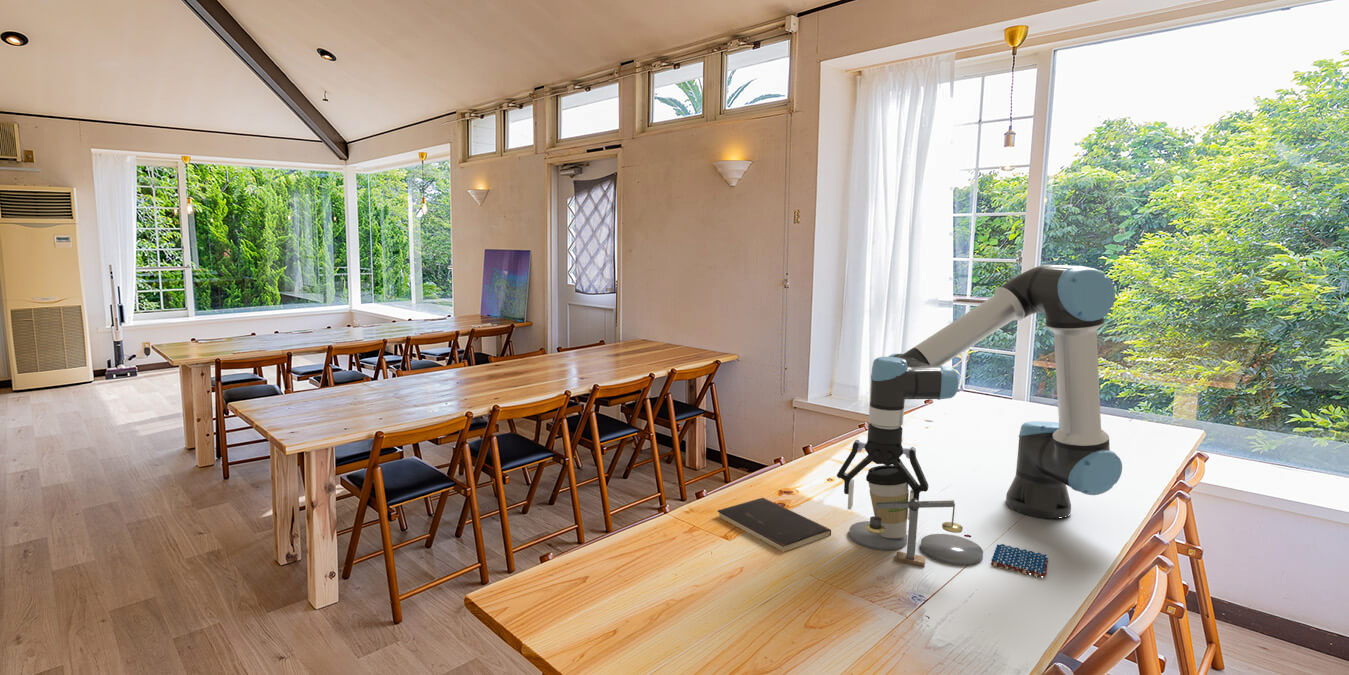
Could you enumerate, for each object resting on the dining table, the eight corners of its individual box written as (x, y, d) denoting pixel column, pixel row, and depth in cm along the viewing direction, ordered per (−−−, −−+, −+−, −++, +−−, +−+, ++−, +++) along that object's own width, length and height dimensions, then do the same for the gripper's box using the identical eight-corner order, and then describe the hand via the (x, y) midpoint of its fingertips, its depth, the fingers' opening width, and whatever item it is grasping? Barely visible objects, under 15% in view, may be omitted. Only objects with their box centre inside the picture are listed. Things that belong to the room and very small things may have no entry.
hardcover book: (782, 555, 150) (782, 545, 149) (717, 519, 168) (717, 510, 168) (831, 537, 159) (831, 528, 159) (764, 505, 177) (764, 496, 177)
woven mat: (1045, 582, 140) (1046, 573, 139) (989, 568, 145) (990, 559, 145) (1049, 562, 149) (1050, 553, 148) (996, 549, 154) (997, 541, 154)
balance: (959, 566, 145) (964, 499, 142) (958, 575, 141) (964, 506, 139) (865, 548, 152) (869, 484, 150) (862, 555, 149) (867, 490, 147)
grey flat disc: (982, 545, 155) (982, 540, 155) (982, 570, 143) (983, 565, 143) (922, 534, 160) (923, 529, 160) (918, 557, 148) (918, 552, 148)
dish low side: (909, 532, 161) (909, 527, 161) (904, 554, 150) (904, 549, 149) (854, 521, 167) (854, 517, 166) (845, 543, 155) (845, 538, 155)
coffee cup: (917, 541, 151) (912, 476, 150) (872, 541, 153) (866, 478, 152) (911, 524, 161) (906, 463, 159) (869, 525, 163) (864, 465, 161)
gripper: (944, 427, 152) (937, 516, 156) (833, 414, 162) (829, 497, 166) (943, 436, 146) (935, 528, 149) (827, 421, 156) (823, 508, 159)
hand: (879, 512), depth 157 cm, fingers open, 13 cm apart
